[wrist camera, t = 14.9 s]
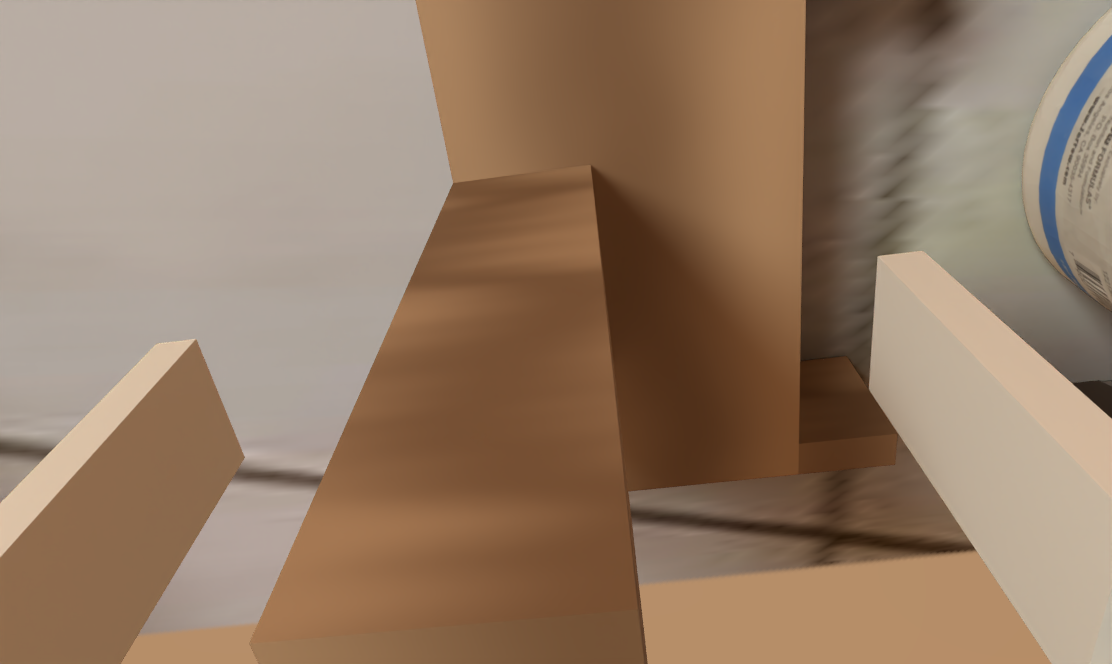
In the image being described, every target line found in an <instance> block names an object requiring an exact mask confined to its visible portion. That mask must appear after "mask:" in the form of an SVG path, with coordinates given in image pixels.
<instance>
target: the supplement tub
mask: <svg viewBox="0 0 1112 664" xmlns="http://www.w3.org/2000/svg"><path fill="white" fill-rule="evenodd" d="M1022 195H1023V203H1024V208H1025V213H1026V217H1027V220H1028V224H1029V227H1030V229H1031V232H1032V234H1033V236H1034V239H1035V241H1036V243H1037V244H1038V246H1039V248H1040V249H1041V251H1042V252H1043V254H1044V255H1045V257H1046V258H1047V259H1048V260H1049V261H1050V263H1051V264H1052V265H1053V266H1054V267H1055V268H1056V269H1057V270H1058V271H1059V272H1060V273H1061V274H1062V275H1063V276H1064V277H1066V278H1067V279H1068V280H1069V281H1071V282H1072V283H1073V284H1075V285H1076V286H1078V287H1079V288H1080V289H1081V290H1083V291H1084V292H1085V293H1087V294H1088V295H1089V296H1090V297H1092V298H1093V299H1095V300H1096V301H1097V302H1099V303H1100V304H1101V305H1103V306H1104V307H1105V308H1107V309H1108V310H1110V311H1111V312H1112V7H1111V8H1110V9H1109V10H1108V11H1107V12H1106V13H1105V14H1104V15H1103V16H1102V17H1101V18H1100V19H1099V20H1098V21H1097V22H1096V23H1095V24H1094V25H1093V26H1092V28H1091V29H1090V30H1089V31H1088V32H1087V33H1086V34H1085V35H1084V36H1083V37H1082V38H1081V40H1080V41H1079V42H1078V43H1077V45H1076V46H1075V47H1074V49H1073V50H1072V51H1071V53H1070V54H1069V55H1068V57H1067V58H1066V59H1065V61H1064V62H1063V63H1062V65H1061V66H1060V68H1059V70H1058V71H1057V73H1056V75H1055V76H1054V78H1053V79H1052V81H1051V83H1050V84H1049V86H1048V88H1047V90H1046V92H1045V94H1044V96H1043V98H1042V100H1041V102H1040V105H1039V107H1038V109H1037V111H1036V114H1035V116H1034V119H1033V122H1032V124H1031V127H1030V130H1029V134H1028V138H1027V142H1026V147H1025V151H1024V159H1023V167H1022Z"/></svg>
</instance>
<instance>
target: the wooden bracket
mask: <svg viewBox="0 0 1112 664" xmlns="http://www.w3.org/2000/svg"><path fill="white" fill-rule="evenodd" d="M416 5H417V10H418V14H419V19H420V24H421V29H422V34H423V39H424V43H425V48H426V53H427V58H428V63H429V68H430V73H431V77H432V82H433V87H434V92H435V97H436V102H437V106H438V111H439V116H440V121H441V126H442V131H443V135H444V140H445V145H446V150H447V155H448V160H449V165H450V169H451V174H452V179H453V185H452V187H451V189H450V192H449V194H448V196H447V198H446V201H445V203H444V205H443V207H442V210H441V212H440V214H439V216H438V219H437V221H436V223H435V225H434V228H433V230H432V232H431V234H430V237H429V239H428V241H427V243H426V246H425V248H424V250H423V253H422V255H421V257H420V259H419V262H418V264H417V266H416V268H415V271H414V273H413V275H412V277H411V280H410V282H409V284H408V286H407V289H406V291H405V293H404V295H403V298H402V300H401V302H400V304H399V307H398V309H397V311H396V313H395V316H394V318H393V320H392V322H391V325H390V327H389V329H388V332H387V334H386V336H385V338H384V341H383V343H382V345H381V347H380V350H379V352H378V354H377V356H376V359H375V361H374V363H373V365H372V368H371V370H370V372H369V374H368V377H367V379H366V381H365V383H364V386H363V388H362V390H361V392H360V395H359V397H358V399H357V401H356V404H355V406H354V408H353V411H352V413H351V415H350V417H349V420H348V422H347V424H346V426H345V429H344V431H343V433H342V435H341V438H340V440H339V442H338V444H337V447H336V449H335V451H334V453H333V456H332V458H331V460H330V462H329V465H328V467H327V469H326V471H325V474H324V476H323V478H322V481H321V483H320V485H319V487H318V490H317V492H316V494H315V496H314V499H313V501H312V503H311V505H310V508H309V510H308V512H307V514H306V517H305V519H304V521H303V523H302V526H301V528H300V530H299V532H298V535H297V537H296V539H295V541H294V544H293V546H292V548H291V550H290V553H289V555H288V557H287V560H286V562H285V564H284V566H283V569H282V571H281V573H280V575H279V578H278V580H277V582H276V584H275V587H274V589H273V591H272V593H271V596H270V598H269V600H268V602H267V605H266V607H265V609H264V611H263V614H262V616H261V618H260V620H259V623H258V625H257V627H256V630H255V632H254V634H253V636H252V639H251V641H250V643H249V644H250V646H251V648H252V651H253V653H254V655H255V657H256V659H257V661H258V663H259V664H647V655H646V646H645V637H644V628H643V619H642V610H641V601H640V592H639V583H638V574H637V565H636V556H635V547H634V538H633V529H632V520H631V511H630V502H629V493H628V491H636V490H646V489H656V488H666V487H676V486H686V485H696V484H706V483H716V482H726V481H736V480H746V479H756V478H766V477H776V476H786V475H796V474H806V473H816V472H826V471H836V470H846V469H856V468H866V467H876V466H886V465H895V458H896V447H897V436H898V433H897V432H896V430H895V429H894V427H893V426H892V424H891V423H890V421H889V420H888V418H887V417H886V415H885V414H884V412H883V411H882V409H881V408H880V406H879V405H878V403H877V402H876V400H875V399H874V397H873V396H872V394H871V392H870V391H869V389H868V388H867V386H866V385H865V383H864V382H863V380H862V379H861V377H860V376H859V374H858V373H857V371H856V370H855V368H854V367H853V365H852V364H851V362H850V361H849V359H848V358H847V356H843V357H834V358H825V359H816V360H807V361H800V338H801V275H802V211H803V148H804V84H805V20H806V0H416Z"/></svg>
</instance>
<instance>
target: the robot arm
mask: <svg viewBox="0 0 1112 664" xmlns="http://www.w3.org/2000/svg"><path fill="white" fill-rule="evenodd" d="M869 390H870V392H871V393H872V395H873V396H874V398H875V399H876V401H877V402H878V404H879V405H880V407H881V408H882V410H883V411H884V413H885V414H886V416H887V417H888V419H889V420H890V422H891V423H892V425H893V426H894V428H895V429H896V431H897V432H898V434H899V435H900V437H901V438H902V440H903V441H904V443H905V444H906V446H907V447H908V449H909V450H910V452H911V453H912V455H913V456H914V458H915V459H916V461H917V462H918V464H919V465H920V467H921V468H922V470H923V471H924V473H925V474H926V476H927V477H928V479H929V480H930V482H931V483H932V485H933V486H934V488H935V489H936V491H937V492H938V494H939V495H940V497H941V498H942V500H943V501H944V503H945V504H946V506H947V507H948V509H949V510H950V512H951V513H952V515H953V516H954V518H955V519H956V521H957V522H958V524H959V525H960V527H961V528H962V530H963V531H964V533H965V534H966V536H967V537H968V539H969V540H970V542H971V543H972V545H973V546H974V548H975V549H976V551H977V552H978V554H979V555H980V557H981V558H982V560H983V561H984V563H985V564H986V566H987V567H988V569H989V570H990V572H991V573H992V575H993V576H994V578H995V579H996V581H997V582H998V584H999V585H1000V587H1001V588H1002V590H1003V591H1004V593H1005V594H1006V596H1007V597H1008V599H1009V600H1010V602H1011V603H1012V604H1013V606H1014V608H1015V609H1016V611H1017V612H1018V614H1019V615H1020V617H1021V618H1022V620H1023V621H1024V623H1025V624H1026V626H1027V627H1028V629H1029V630H1030V632H1031V633H1032V635H1033V636H1034V638H1035V639H1036V641H1037V642H1038V644H1039V645H1040V647H1041V648H1042V650H1043V651H1044V653H1045V654H1046V656H1047V657H1048V659H1049V660H1050V662H1051V663H1052V664H1112V386H1110V385H1108V384H1106V383H1103V382H1101V381H1089V382H1080V383H1071V382H1070V381H1069V380H1068V379H1066V378H1065V377H1064V376H1063V375H1062V374H1061V373H1060V372H1059V371H1057V370H1056V369H1055V368H1054V367H1053V366H1052V365H1051V364H1050V363H1048V362H1047V361H1046V360H1045V359H1044V358H1043V357H1042V356H1041V355H1039V354H1038V353H1037V352H1036V351H1035V350H1034V349H1033V348H1032V347H1030V346H1029V345H1028V344H1027V343H1026V342H1025V341H1024V340H1023V339H1021V338H1020V337H1019V336H1018V335H1017V334H1016V333H1015V332H1014V331H1012V330H1011V329H1010V328H1009V327H1008V326H1007V325H1006V324H1005V323H1003V322H1002V321H1001V320H1000V319H999V318H998V317H997V316H996V315H994V314H993V313H992V312H991V311H990V310H989V309H988V308H987V307H986V306H984V305H983V304H982V303H981V302H980V301H979V300H978V299H977V298H975V297H974V296H973V295H972V294H971V293H970V292H969V291H968V290H966V289H965V288H964V287H963V286H962V285H961V284H960V283H959V282H957V281H956V280H955V279H954V278H953V277H952V276H951V275H950V274H948V273H947V272H946V271H945V270H944V269H943V268H942V267H941V266H939V265H938V264H937V263H936V262H935V261H934V260H933V259H932V258H930V257H929V256H928V255H927V254H926V253H925V252H924V251H916V252H908V253H900V254H892V255H883V256H878V259H877V274H876V289H875V304H874V319H873V334H872V349H871V364H870V379H869ZM244 458H245V457H244V454H243V452H242V450H241V447H240V445H239V442H238V440H237V437H236V435H235V433H234V430H233V428H232V425H231V423H230V420H229V418H228V415H227V413H226V411H225V408H224V406H223V403H222V401H221V398H220V396H219V394H218V391H217V389H216V386H215V384H214V381H213V379H212V376H211V374H210V372H209V369H208V367H207V364H206V362H205V359H204V357H203V355H202V352H201V350H200V347H199V345H198V342H197V340H196V339H191V340H183V341H175V342H167V343H158V344H156V345H155V346H154V347H153V348H152V349H151V350H150V351H149V352H148V353H147V354H146V355H145V356H144V357H143V358H142V359H141V360H140V361H139V362H138V363H137V364H136V365H135V366H134V367H133V368H132V369H131V370H130V371H129V372H128V373H127V375H126V376H125V377H124V378H123V379H122V380H121V381H120V382H119V383H118V384H117V385H116V386H115V387H114V388H113V389H112V390H111V391H110V392H109V393H108V394H107V395H106V396H105V397H104V398H103V399H102V400H101V401H100V402H99V403H98V404H97V405H96V406H95V407H94V408H93V409H92V410H91V411H90V412H89V413H88V414H87V415H86V416H85V417H84V418H83V419H82V420H81V421H80V422H79V423H78V424H77V425H76V426H75V427H74V428H73V430H72V431H71V432H70V433H69V434H68V435H67V436H66V437H65V438H64V439H63V440H62V441H61V442H60V443H59V444H58V445H57V446H56V447H55V448H54V449H53V450H52V451H51V452H50V453H49V454H48V455H47V456H46V457H45V458H44V459H43V460H42V461H41V462H40V463H39V464H38V465H37V466H36V467H35V468H34V469H33V470H32V471H31V472H30V473H29V474H28V475H27V476H26V477H25V478H24V479H23V480H22V481H21V482H20V484H19V485H18V486H17V487H16V488H15V489H14V490H13V491H12V492H11V493H10V494H9V495H8V496H7V497H6V498H5V499H4V500H3V501H2V502H1V503H0V664H121V662H122V660H123V659H124V657H125V655H126V654H127V652H128V650H129V649H130V647H131V645H132V644H133V642H134V640H135V639H136V637H137V636H138V634H139V632H140V631H141V629H142V627H143V626H144V624H145V622H146V621H147V619H148V617H149V616H150V614H151V612H152V611H153V609H154V607H155V606H156V604H157V602H158V601H159V599H160V597H161V596H162V594H163V592H164V591H165V589H166V587H167V586H168V584H169V582H170V581H171V579H172V577H173V576H174V574H175V572H176V571H177V569H178V567H179V566H180V564H181V563H182V561H183V559H184V558H185V556H186V554H187V553H188V551H189V549H190V548H191V546H192V544H193V543H194V541H195V539H196V538H197V536H198V534H199V533H200V531H201V529H202V528H203V526H204V524H205V523H206V521H207V519H208V518H209V516H210V514H211V513H212V511H213V509H214V508H215V506H216V504H217V503H218V501H219V499H220V498H221V496H222V495H223V493H224V491H225V490H226V488H227V486H228V485H229V483H230V481H231V480H232V478H233V476H234V475H235V473H236V471H237V470H238V468H239V466H240V465H241V463H242V461H243V460H244Z"/></svg>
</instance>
